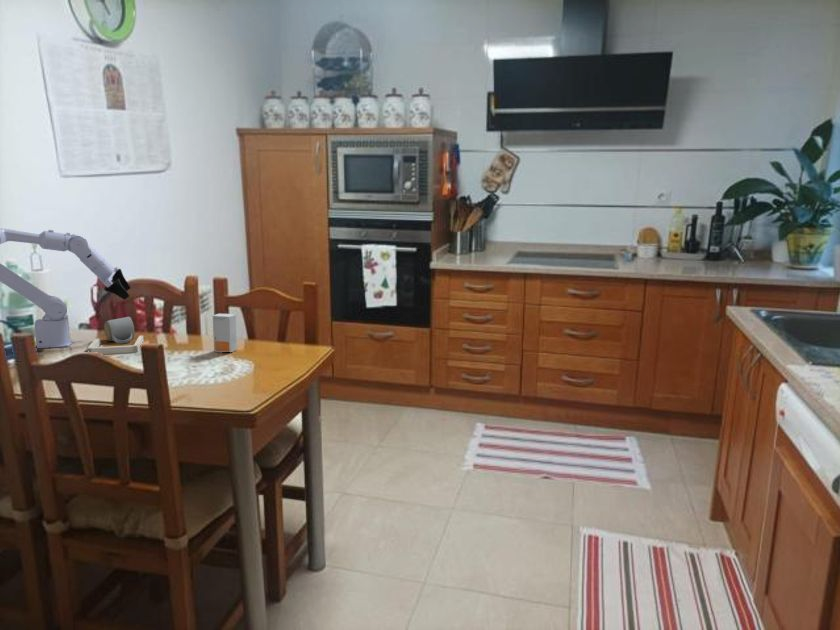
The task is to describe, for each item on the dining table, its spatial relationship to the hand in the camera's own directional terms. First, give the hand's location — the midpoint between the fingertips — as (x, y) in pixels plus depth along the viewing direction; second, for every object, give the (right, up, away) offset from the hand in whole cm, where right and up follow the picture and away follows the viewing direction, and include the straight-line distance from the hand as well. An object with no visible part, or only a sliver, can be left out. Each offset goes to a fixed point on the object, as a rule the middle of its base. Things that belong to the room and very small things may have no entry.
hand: (127, 293), depth 218 cm
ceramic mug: (-1, -16, -3) cm, 17 cm away
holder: (+2, -18, -12) cm, 22 cm away
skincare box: (+39, -19, -16) cm, 46 cm away
